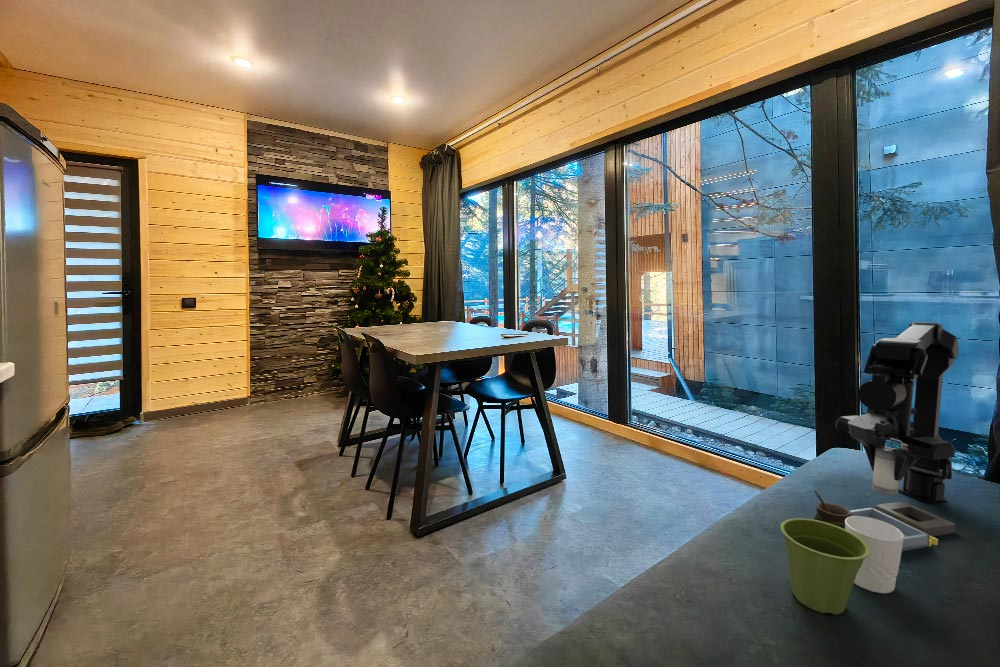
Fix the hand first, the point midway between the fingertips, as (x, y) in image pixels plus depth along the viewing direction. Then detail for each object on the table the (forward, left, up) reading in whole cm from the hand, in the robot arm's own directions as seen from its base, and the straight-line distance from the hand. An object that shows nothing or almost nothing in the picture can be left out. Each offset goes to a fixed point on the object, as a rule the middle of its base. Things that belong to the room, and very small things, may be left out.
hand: (886, 475), depth 91 cm
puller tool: (+1, +6, -13) cm, 14 cm away
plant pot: (+13, -30, -13) cm, 35 cm away
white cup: (+11, -17, -13) cm, 24 cm away
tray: (0, 0, -13) cm, 13 cm away
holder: (-2, +11, -13) cm, 17 cm away
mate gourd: (+1, -14, -13) cm, 19 cm away
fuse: (0, 0, -4) cm, 4 cm away
